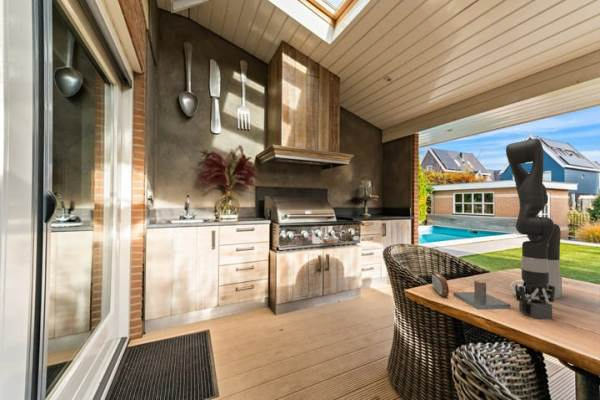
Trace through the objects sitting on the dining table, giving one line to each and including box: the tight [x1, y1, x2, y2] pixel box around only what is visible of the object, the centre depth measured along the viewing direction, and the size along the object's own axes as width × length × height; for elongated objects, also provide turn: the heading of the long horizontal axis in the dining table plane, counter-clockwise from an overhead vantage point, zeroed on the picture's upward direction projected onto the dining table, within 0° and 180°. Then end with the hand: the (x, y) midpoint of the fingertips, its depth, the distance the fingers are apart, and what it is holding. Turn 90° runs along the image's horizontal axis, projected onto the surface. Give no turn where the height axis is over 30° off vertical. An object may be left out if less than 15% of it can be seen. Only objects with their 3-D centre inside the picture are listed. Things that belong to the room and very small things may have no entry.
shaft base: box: [453, 279, 512, 310], centre depth 105 cm, size 14×14×9 cm
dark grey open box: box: [518, 297, 553, 320], centre depth 93 cm, size 6×6×5 cm
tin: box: [431, 272, 450, 297], centre depth 115 cm, size 15×3×8 cm, turn 168°
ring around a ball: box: [510, 279, 530, 298], centre depth 108 cm, size 8×6×8 cm
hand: (535, 312), depth 93 cm, fingers closed on dark grey open box, 6 cm apart
